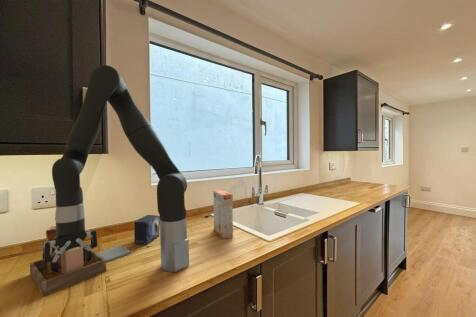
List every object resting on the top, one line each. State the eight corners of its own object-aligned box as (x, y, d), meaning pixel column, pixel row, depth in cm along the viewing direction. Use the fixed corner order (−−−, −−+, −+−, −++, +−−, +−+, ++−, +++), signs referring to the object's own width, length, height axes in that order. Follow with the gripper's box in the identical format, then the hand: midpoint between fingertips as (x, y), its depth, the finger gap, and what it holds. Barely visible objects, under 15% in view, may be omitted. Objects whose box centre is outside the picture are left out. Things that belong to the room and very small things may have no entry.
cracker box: (233, 237, 104) (233, 193, 103) (221, 239, 101) (220, 195, 101) (224, 228, 117) (223, 189, 116) (213, 229, 114) (212, 190, 114)
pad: (131, 253, 89) (131, 251, 89) (98, 265, 80) (98, 263, 80) (120, 246, 95) (120, 244, 95) (88, 257, 86) (88, 255, 86)
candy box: (46, 274, 74) (44, 230, 74) (52, 268, 78) (50, 226, 78) (78, 269, 77) (76, 226, 77) (82, 263, 81) (80, 223, 81)
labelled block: (84, 277, 72) (82, 247, 72) (67, 284, 69) (66, 252, 68) (78, 271, 76) (76, 242, 76) (61, 277, 72) (60, 247, 72)
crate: (106, 271, 76) (105, 259, 76) (43, 296, 63) (42, 283, 63) (87, 255, 87) (86, 245, 87) (30, 274, 74) (29, 262, 74)
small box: (146, 245, 96) (146, 222, 96) (133, 244, 97) (133, 221, 97) (160, 236, 106) (159, 215, 106) (148, 235, 108) (147, 214, 107)
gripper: (44, 226, 64) (47, 281, 64) (99, 214, 75) (100, 261, 75) (38, 221, 68) (41, 272, 69) (91, 211, 80) (92, 255, 80)
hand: (72, 266), depth 72 cm, fingers open, 8 cm apart
